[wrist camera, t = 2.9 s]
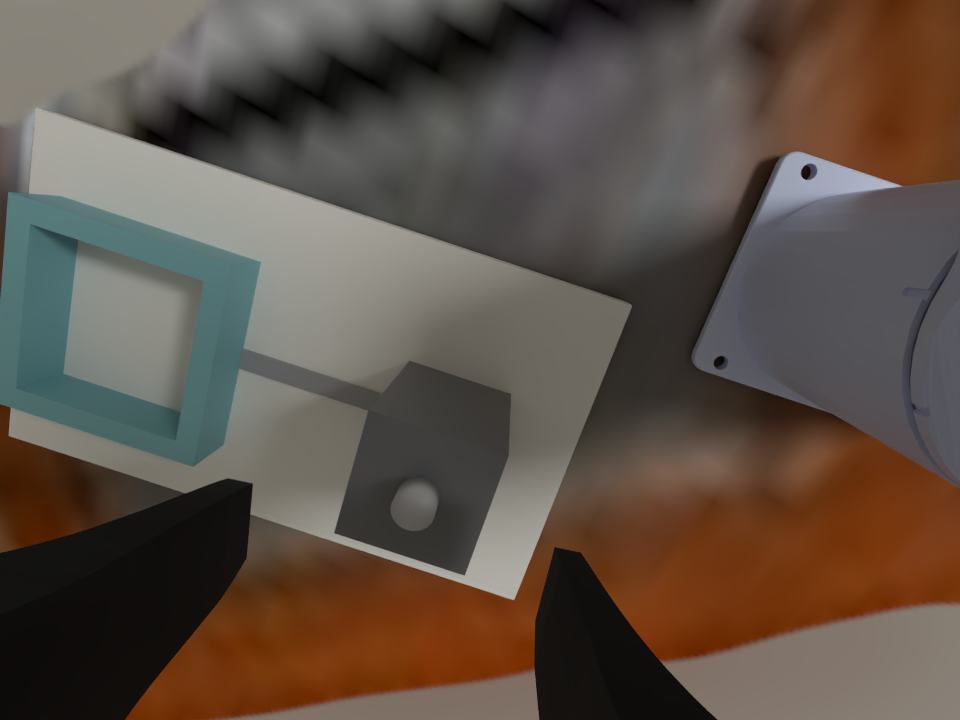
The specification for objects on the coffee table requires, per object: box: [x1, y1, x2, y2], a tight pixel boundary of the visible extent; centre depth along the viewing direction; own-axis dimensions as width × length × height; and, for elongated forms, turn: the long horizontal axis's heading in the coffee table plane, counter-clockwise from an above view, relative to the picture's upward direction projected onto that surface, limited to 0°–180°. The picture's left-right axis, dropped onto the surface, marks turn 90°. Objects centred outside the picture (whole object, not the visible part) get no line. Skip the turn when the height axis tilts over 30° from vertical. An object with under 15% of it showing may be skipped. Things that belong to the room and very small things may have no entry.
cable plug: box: [334, 361, 511, 576], centre depth 17 cm, size 4×4×6 cm
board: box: [0, 108, 632, 600], centre depth 19 cm, size 22×13×3 cm, turn 72°
